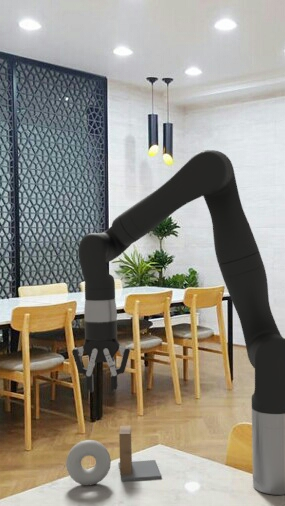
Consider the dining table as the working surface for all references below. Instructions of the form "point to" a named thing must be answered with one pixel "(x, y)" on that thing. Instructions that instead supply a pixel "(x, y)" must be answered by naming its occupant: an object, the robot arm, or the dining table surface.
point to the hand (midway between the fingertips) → (102, 390)
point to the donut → (87, 475)
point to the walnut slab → (125, 450)
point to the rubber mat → (142, 471)
